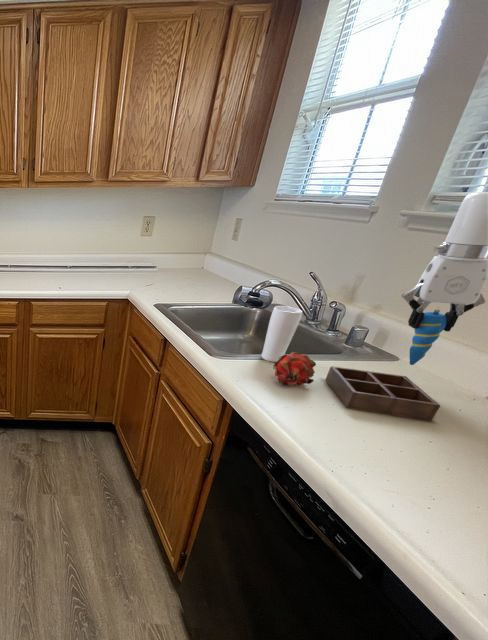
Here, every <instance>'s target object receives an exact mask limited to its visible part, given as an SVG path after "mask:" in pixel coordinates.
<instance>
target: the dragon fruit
mask: <svg viewBox="0 0 488 640" xmlns="http://www.w3.org/2000/svg"><path fill="white" fill-rule="evenodd" d="M315 366H317V363H316V362H315V360H313V359H311V358H310V356H309V355H307V354H306V353H299V352H296V351H292V352H291V353H289V355H288V354H285V355H283V356H281V357H279V360H278V361H277V362H274V364H273V366H272V367H273V368H272V369H273V370H275V371H274V376H275V377H277V380H278V383H279V384H280V385H281V386H288V385H289V386H292V387H295V386H303V385H304V384H306V385H309V384H312V383H313V382H314V381H315V380H314V379H313V377H314V376H315V375H314V374H315V373H316V372H315V370H314V368H315Z"/></svg>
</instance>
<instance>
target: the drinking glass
mask: <svg viewBox="0 0 488 640" xmlns="http://www.w3.org/2000/svg"><path fill="white" fill-rule="evenodd" d="M302 315H303V310H302V309H300V308H297V307H293V306H287V305H276V306H274V307H273V310H272V312H271V315H270V317H269V321H268V325H267V330H266V335H265V340H264V343H263V348H262V352H261V353H260V354H261V355H260V356H261V358H262V359H263V360H265V361H267V362H270V363H276V362H277V361H278V360H279V357H281V356H283V355H286V352H287V350H288V349H289V346H290V344H291V342H292V340H293V338H294V335H295V334H296V331H297V329H298V327H299V325H300V322H301V319H302Z"/></svg>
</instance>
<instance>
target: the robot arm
mask: <svg viewBox="0 0 488 640" xmlns="http://www.w3.org/2000/svg"><path fill="white" fill-rule="evenodd" d="M433 252H436V253H437V255H435V256H434V257H433V258H432V259H431V261H430V262H429V263H428V264H427V266H426V268H425V269H424V271H423V272H422V274H421V276H420V277H419V280H418V282H417V283H416V285H414V286H413V287H412V288H410V289H408V290H407V291H405V292H404V293H402V294H401V298H402V299H403V300H404V301H405V302H406V303H407V305H409V306H410V309H411V310H412V311H411V314H410V316H409V318H408V320H407V323H408V326H409V327H410V328H412V329H414V330H415V329H417V328H419V326H420V324H421V322H422V319H423V317H424V315H425V312H424V311H425V310H426V309H427V308H428V306H429V305H430V304H432V303H440V304H449V305H450V306H449V311H446V312H445V313H444V315H445V316H446V326H445V328H444V330H443V331H445V332H450V331H451V330H452V329H453V328H454V326H455V324H456V323H457V321H458V319H459V316H463V315H464V314H465V313H466V312H469V311H471V310H473V309H474V308H477V307H479V306H481V305H483V304H485V303H486V302H487V300H486V298H485V296H483V294H482V291H483V289H484V287H485V284H486V282H487V280H488V259H487V258H488V191H476V192H471V193H469V194H467V195H466V196H465V197H464V198H463V200H462V201H461V204H460V205H459V208H458V211H457V212H456V215H455V217H454V220H453V222H452V224H451V226H450V229H449V231H448V233H447V236H446V238H445V240H444V242H442V244H440V245H435V246H434V247H433ZM414 296H415V297H416V298H417V300H416V299H415V298H414Z"/></svg>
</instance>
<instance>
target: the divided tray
mask: <svg viewBox="0 0 488 640" xmlns="http://www.w3.org/2000/svg"><path fill="white" fill-rule="evenodd" d="M324 381H325V382H326V383H327V385H328V386H329V387H330V389H331V390H332V391H333V392H334V394H335V395H336V396H337V398H338V399H339V400H340V402H342V404H343V405H344V407H345V408H347V409H351V410H357V411H364V412H369V413H370V412H371V413H376V414H382V415H389V416H395V417H402V418H406V419H407V418H408V419H414V420H420V421H425V422H432V421H433V419H434V418H435V416H436V414H437V413H438V411H439V409H440V407H441V404H440V403H438V402H437V401H436V400H435V399H434V398H432V397H431V396H430V395H429V394H427V393H426V392H425V391H424V390H423V389H422V388H420V386H418V385H417V384H416V383H414V382H413V381H412V380H411V379H410V378H408V376H406V375H401V374H400V375H399V374H392V373H385V372H379V371H370V370H364V369H363V370H362V369H355V368H348V367H341V366H335V365H331V366H330V368H329V370H328V372H327V374H326V377H325V379H324Z"/></svg>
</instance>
